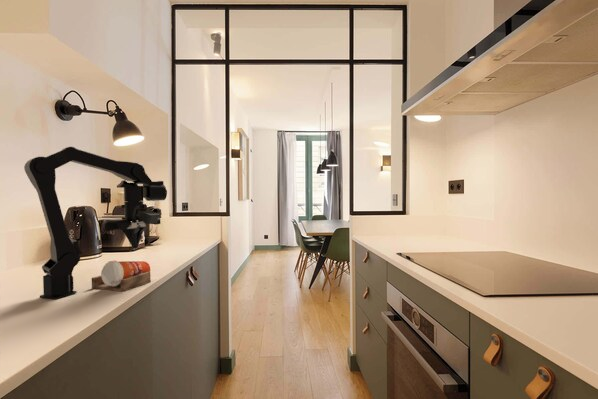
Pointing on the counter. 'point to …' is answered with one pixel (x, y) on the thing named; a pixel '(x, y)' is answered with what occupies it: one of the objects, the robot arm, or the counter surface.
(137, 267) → the paper cup
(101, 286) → the u rest
